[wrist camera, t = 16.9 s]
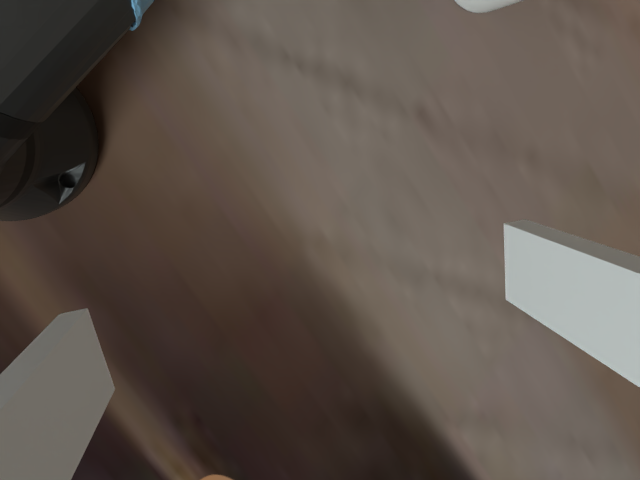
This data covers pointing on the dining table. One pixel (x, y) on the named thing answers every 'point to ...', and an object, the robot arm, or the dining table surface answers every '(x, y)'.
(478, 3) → the candle holder
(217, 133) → the dining table surface
